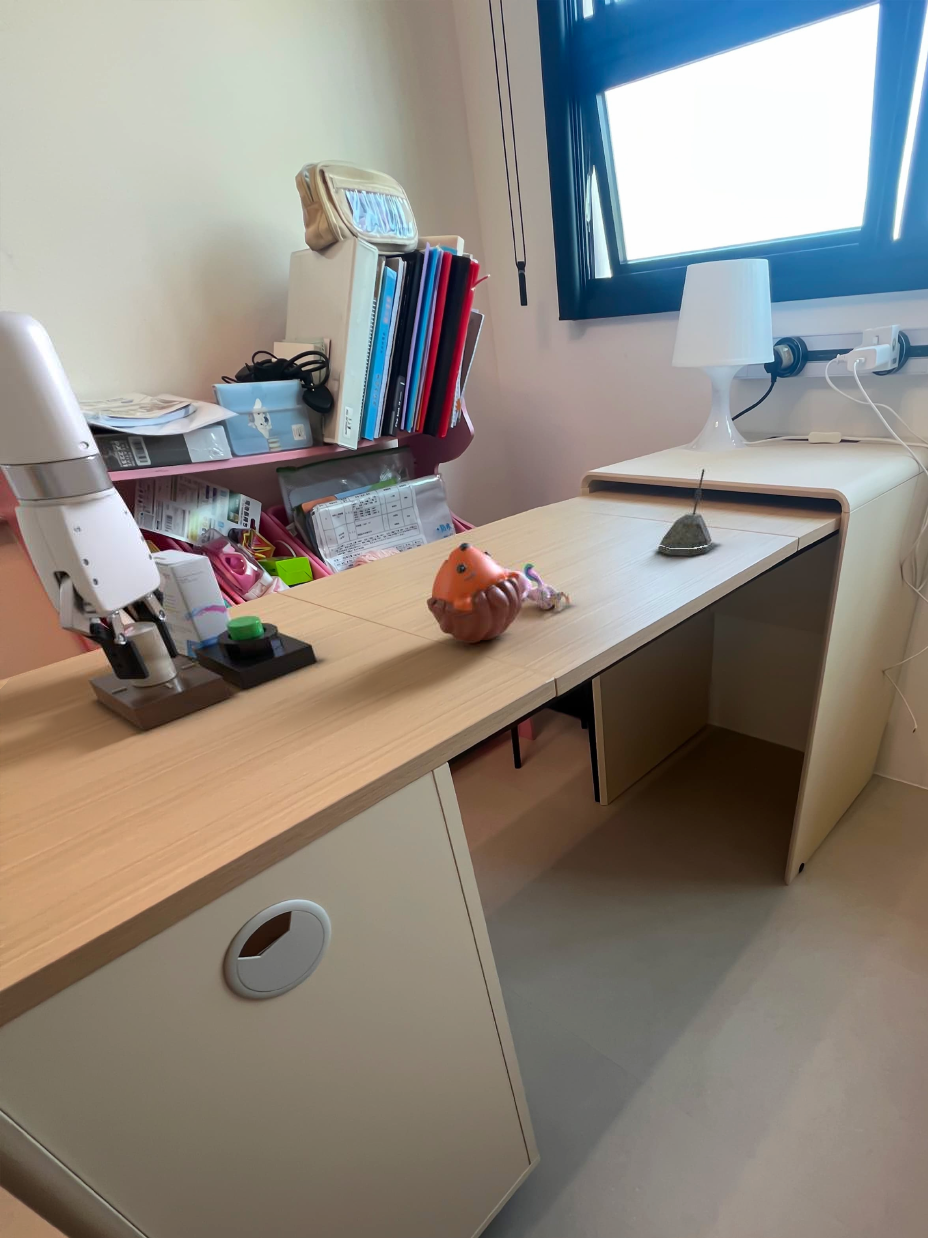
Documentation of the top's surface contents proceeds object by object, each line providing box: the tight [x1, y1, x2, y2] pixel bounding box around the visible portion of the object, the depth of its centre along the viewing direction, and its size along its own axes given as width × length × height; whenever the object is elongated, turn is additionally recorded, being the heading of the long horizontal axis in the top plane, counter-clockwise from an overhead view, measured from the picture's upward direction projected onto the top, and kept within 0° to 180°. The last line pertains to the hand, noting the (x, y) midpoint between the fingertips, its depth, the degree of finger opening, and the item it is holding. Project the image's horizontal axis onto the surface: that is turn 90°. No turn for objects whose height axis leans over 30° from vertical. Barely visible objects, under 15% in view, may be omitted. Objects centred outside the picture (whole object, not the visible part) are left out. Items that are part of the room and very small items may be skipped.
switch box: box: [194, 622, 317, 690], centre depth 77 cm, size 11×9×4 cm
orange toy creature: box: [426, 542, 523, 644], centre depth 79 cm, size 12×10×11 cm
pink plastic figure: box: [502, 563, 571, 613], centre depth 92 cm, size 6×6×15 cm
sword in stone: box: [657, 468, 717, 557], centre depth 109 cm, size 10×8×12 cm
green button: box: [226, 615, 264, 640], centre depth 76 cm, size 4×4×2 cm
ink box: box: [151, 549, 232, 660], centre depth 79 cm, size 9×5×12 cm, turn 58°
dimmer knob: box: [123, 621, 177, 687], centre depth 68 cm, size 4×4×6 cm
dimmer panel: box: [88, 655, 231, 731], centre depth 71 cm, size 12×9×3 cm
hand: (149, 665), depth 69 cm, fingers closed on dimmer knob, 4 cm apart
